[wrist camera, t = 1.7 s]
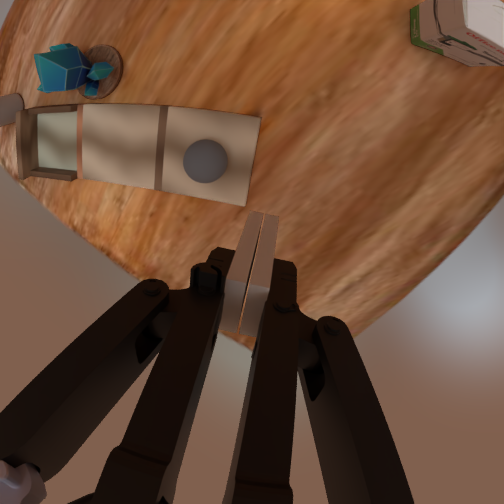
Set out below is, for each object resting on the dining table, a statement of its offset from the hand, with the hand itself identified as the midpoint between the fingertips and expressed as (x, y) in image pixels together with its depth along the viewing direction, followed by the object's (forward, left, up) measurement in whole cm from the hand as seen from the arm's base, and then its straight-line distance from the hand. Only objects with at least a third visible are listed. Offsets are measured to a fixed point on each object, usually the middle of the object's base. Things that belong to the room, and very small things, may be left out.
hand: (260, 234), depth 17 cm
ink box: (-21, +15, -17) cm, 31 cm away
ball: (0, -7, -13) cm, 15 cm away
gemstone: (-9, -23, -17) cm, 30 cm away
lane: (0, -19, -16) cm, 25 cm away
